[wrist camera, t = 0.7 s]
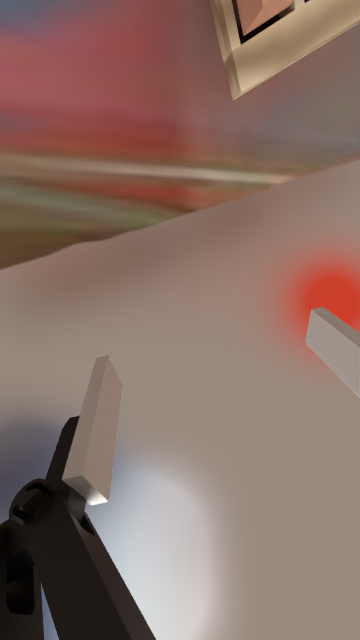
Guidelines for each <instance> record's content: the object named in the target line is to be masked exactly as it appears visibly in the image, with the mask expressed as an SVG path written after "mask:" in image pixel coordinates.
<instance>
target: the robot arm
mask: <svg viewBox="0 0 360 640" xmlns="http://www.w3.org/2000/svg"><path fill="white" fill-rule="evenodd" d="M306 344H307V345H308V346H309V347H310V348H311V349H312V350H313V351H314V352H315V353H316V354H317V355H318V356H319V357H320V358H321V359H322V360H323V361H324V362H325V363H326V364H327V365H328V366H329V367H330V369H331V370H332V371H333V372H334V373H335V374H336V375H337V376H339V378H340V379H341V380H342V381H343V382H344V383H345V384H346V385H347V386H348V387H349V388H350V389H351V390H352V391H353V392H354V393H355V394H356V395H357V396H358V397H359V398H360V333H359V332H357V331H356V330H354V329H353V328H352V327H350V326H349V325H347V324H346V323H345V322H343V321H342V320H340V319H339V318H338V317H336V316H335V315H333V314H332V313H331V312H329V311H328V310H326V309H325V308H324V307H321V308H317V309H312V310H311V314H310V320H309V326H308V331H307V337H306ZM121 392H122V382H121V380H120V379H119V376H118V374H117V372H116V370H115V368H114V367H113V364H112V362H111V360H110V358H109V356H105V357H100V358H96V361H95V365H94V368H93V372H92V375H91V378H90V382H89V386H88V389H87V393H86V396H85V400H84V403H83V407H82V410H81V414H80V416H76V417H72V418H69V420H68V421H67V423H66V424H65V426H64V427H63V429H62V432H61V435H60V438H59V441H58V444H57V446H56V451H55V452H54V455H53V458H52V461H51V464H50V467H49V470H48V473H47V476H46V479H35V480H32V481H31V482H29V483H28V484H26V485H25V486H24V487H23V488H22V489H21V490H20V491H19V492H18V493H17V495H16V496H15V498H14V500H13V501H12V504H11V507H10V510H9V519H8V520H7V521H5V522H3V523H2V524H0V640H44V629H43V612H42V596H41V584H42V587H43V590H44V593H45V597H46V600H47V603H48V606H49V609H50V612H51V615H52V619H53V622H54V625H55V628H56V631H57V634H58V638H59V640H156V638H155V637H154V635H153V633H152V631H151V629H150V628H149V626H148V624H147V622H146V620H145V619H144V617H143V615H142V613H141V611H140V610H139V608H138V606H137V604H136V602H135V600H134V599H133V597H132V595H131V593H130V591H129V590H128V588H127V586H126V584H125V582H124V581H123V579H122V577H121V575H120V573H119V572H118V570H117V568H116V566H115V564H114V562H113V561H112V559H111V557H110V555H109V553H108V552H107V550H106V548H105V546H104V544H103V543H102V541H101V539H100V537H99V535H98V534H97V532H96V530H95V528H94V526H93V525H92V523H91V521H90V519H89V517H88V515H87V514H86V512H85V511H84V510H85V505H86V501H87V502H88V503H89V504H91V505H95V504H100V503H104V502H108V501H109V493H110V485H111V476H112V468H113V459H114V451H115V442H116V434H117V426H118V417H119V409H120V400H121Z"/></svg>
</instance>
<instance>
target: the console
mask: <svg viewBox="0 0 360 640" xmlns="http://www.w3.org/2000/svg"><path fill="white" fill-rule="evenodd" d="M209 5H210V9H211V13H212V17H213V21H214V25H215V29H216V33H217V38H218V42H219V46H220V50H221V54H222V58H223V62H224V66H225V71H226V75H227V79H228V83H229V87H230V91H231V95H232V99H233V100H235V99H236V98H238V97H240V96H241V95H243V94H245V93H246V92H248V91H249V90H251V89H253V88H254V87H256V86H257V85H259V84H261V83H262V82H264V81H266V80H267V79H269V78H270V77H272V76H274V75H275V74H277V73H279V72H280V71H282V70H283V69H285V68H287V67H288V66H290V65H292V64H293V63H295V62H296V61H298V60H300V59H301V58H303V57H304V56H306V55H308V54H309V53H311V52H313V51H314V50H316V49H317V48H319V47H321V46H322V45H324V44H326V43H327V42H329V41H330V40H332V39H334V38H335V37H337V36H338V35H340V34H342V33H343V32H345V31H347V30H348V29H350V28H351V27H353V26H355V25H356V24H358V23H360V0H309V1H308V2H306V3H305V2H304V0H294V1H293V2H292V3H291V5H290V6H289V7H287V8H286V9H284V10H283V11H281V12H280V13H278V14H279V21H277V22H276V23H274V24H273V25H271V26H269V27H268V28H266V29H265V30H263V31H262V32H260V33H259V34H257V35H256V36H254V37H253V38H251V39H250V40H248V41H246V42H245V43H243V44H242V45H241V44H240V39H239V34H238V29H237V24H236V20H235V15H234V10H233V5H232V0H209Z"/></svg>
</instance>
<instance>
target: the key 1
mask: <svg viewBox="0 0 360 640" xmlns="http://www.w3.org/2000/svg"><path fill="white" fill-rule="evenodd" d="M236 1H237V6H238V11H239V16H240V21H241V26H242V31H243V36H245V35H246V34H248V33H249V32H251V31H252V30H254V29H255V28H257V27H258V26H260V25H261V24H263V23H264V22H266V21H267V20H269V19H270V18H272V17H273V16H275V15H277V14H278V13H280V12H281V11H283V10H284V9H286V8H287V7H289V6H290V5H291V3H292V2H293V1H294V0H236Z"/></svg>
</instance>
